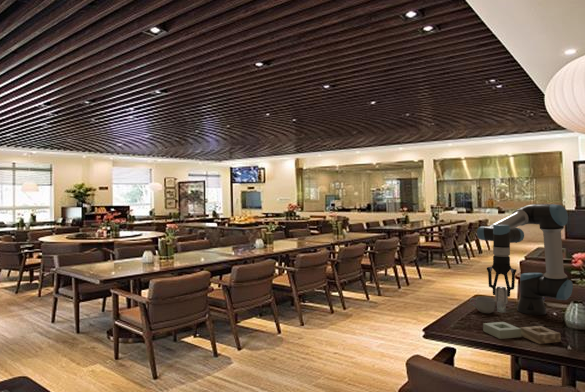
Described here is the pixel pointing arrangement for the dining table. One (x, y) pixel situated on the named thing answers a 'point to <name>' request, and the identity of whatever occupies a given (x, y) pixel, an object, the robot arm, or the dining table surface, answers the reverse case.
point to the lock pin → (501, 299)
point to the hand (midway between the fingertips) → (501, 302)
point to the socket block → (502, 330)
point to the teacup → (484, 304)
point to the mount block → (540, 334)
